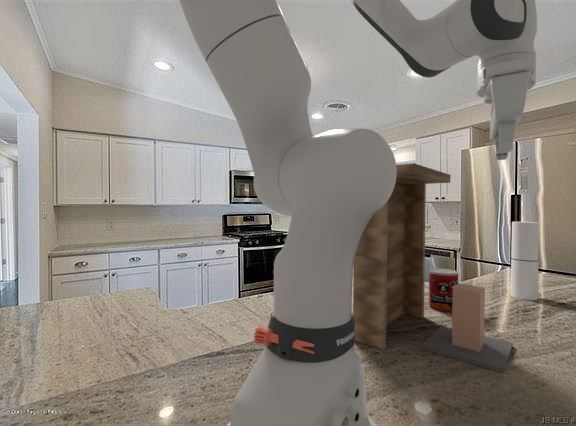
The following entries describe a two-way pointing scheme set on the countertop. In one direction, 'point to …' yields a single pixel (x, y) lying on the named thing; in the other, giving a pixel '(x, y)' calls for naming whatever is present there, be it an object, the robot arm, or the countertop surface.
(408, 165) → the shelf
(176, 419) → the countertop surface
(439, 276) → the canned food
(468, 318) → the block
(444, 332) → the mat
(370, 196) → the robot arm
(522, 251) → the cylindrical container
